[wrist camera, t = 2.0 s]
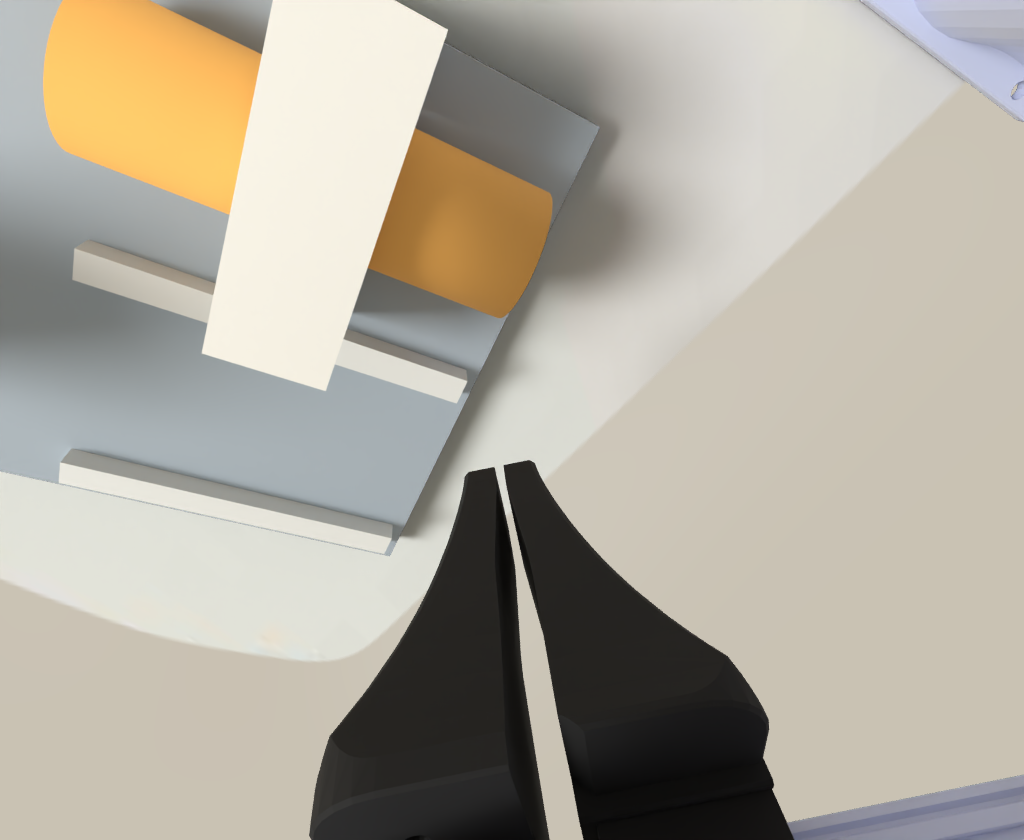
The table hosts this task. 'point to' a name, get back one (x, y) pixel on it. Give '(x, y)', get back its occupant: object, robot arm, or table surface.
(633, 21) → the table surface
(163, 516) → the table surface
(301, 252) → the white bracket
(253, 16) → the board
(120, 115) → the orange cylinder
